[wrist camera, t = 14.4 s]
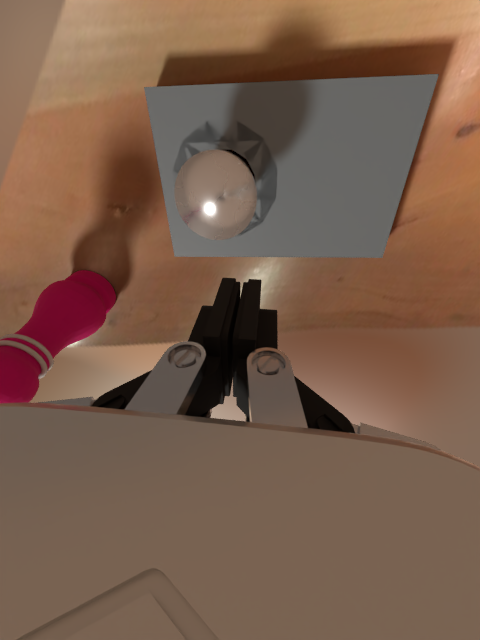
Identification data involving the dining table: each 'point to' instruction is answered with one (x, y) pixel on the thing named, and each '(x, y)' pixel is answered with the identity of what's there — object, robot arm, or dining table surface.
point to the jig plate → (297, 158)
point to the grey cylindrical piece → (216, 194)
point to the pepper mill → (52, 331)
